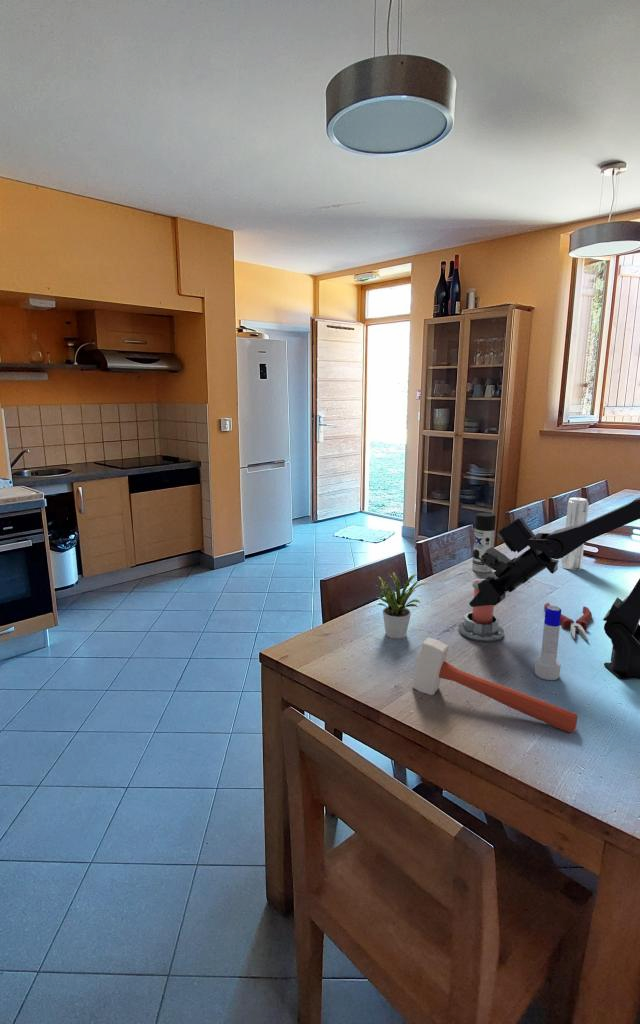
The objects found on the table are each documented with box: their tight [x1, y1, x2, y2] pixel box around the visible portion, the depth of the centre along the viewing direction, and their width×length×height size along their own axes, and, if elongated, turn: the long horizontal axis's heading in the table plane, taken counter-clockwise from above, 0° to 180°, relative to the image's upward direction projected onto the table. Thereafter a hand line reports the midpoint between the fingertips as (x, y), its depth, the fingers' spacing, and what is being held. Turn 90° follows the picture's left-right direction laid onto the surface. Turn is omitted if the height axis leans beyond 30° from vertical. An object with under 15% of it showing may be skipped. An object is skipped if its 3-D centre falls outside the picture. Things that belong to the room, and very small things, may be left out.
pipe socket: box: [457, 610, 505, 643], centre depth 137 cm, size 11×11×4 cm
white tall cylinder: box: [561, 497, 590, 571], centre depth 187 cm, size 6×6×25 cm
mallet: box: [411, 636, 579, 734], centre depth 104 cm, size 11×4×30 cm
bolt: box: [534, 605, 562, 681], centre depth 115 cm, size 16×5×5 cm
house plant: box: [376, 571, 429, 640], centre depth 135 cm, size 14×14×16 cm
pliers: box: [543, 602, 593, 641], centre depth 142 cm, size 12×21×3 cm, turn 165°
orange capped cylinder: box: [471, 578, 494, 624], centre depth 136 cm, size 6×6×12 cm
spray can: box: [471, 512, 496, 574], centre depth 185 cm, size 7×7×20 cm
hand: (477, 599), depth 137 cm, fingers open, 9 cm apart
